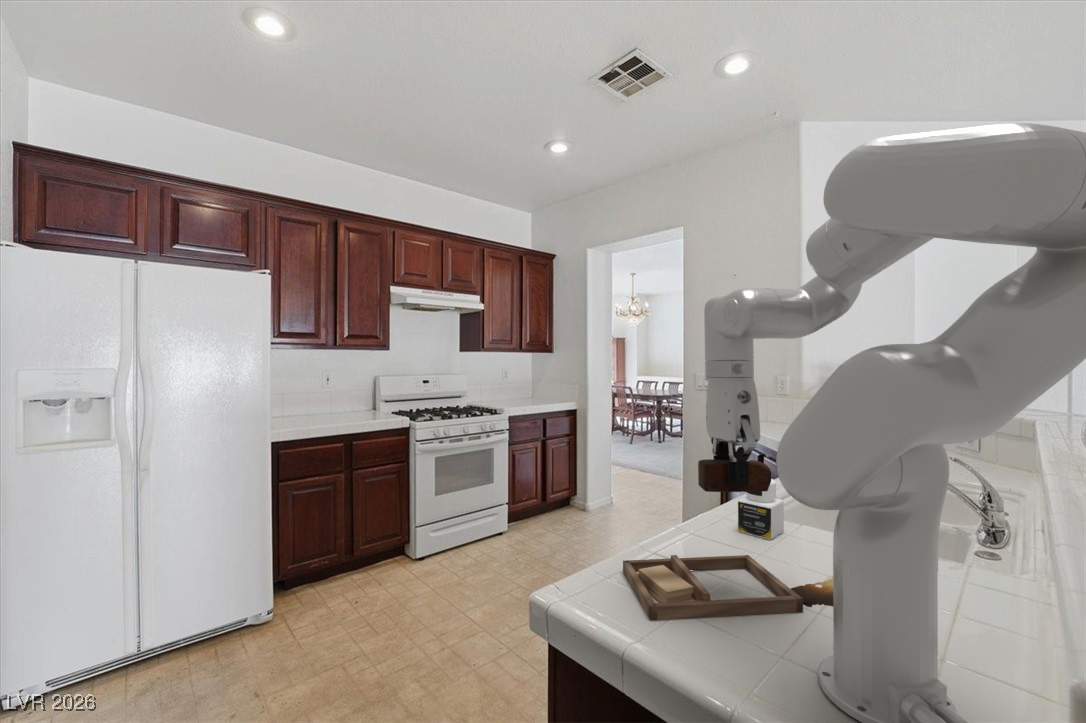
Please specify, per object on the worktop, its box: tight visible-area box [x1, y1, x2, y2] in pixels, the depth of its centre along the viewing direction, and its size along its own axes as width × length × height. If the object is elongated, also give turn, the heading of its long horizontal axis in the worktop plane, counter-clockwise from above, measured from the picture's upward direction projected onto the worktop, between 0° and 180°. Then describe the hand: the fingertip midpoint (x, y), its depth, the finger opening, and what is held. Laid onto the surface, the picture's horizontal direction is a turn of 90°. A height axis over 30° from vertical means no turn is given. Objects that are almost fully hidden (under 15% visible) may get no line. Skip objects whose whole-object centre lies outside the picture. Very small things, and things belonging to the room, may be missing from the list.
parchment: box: [789, 575, 833, 608], centre depth 79 cm, size 25×10×1 cm, turn 105°
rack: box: [622, 554, 804, 621], centre depth 78 cm, size 16×24×3 cm
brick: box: [697, 458, 772, 493], centre depth 78 cm, size 11×4×5 cm, turn 88°
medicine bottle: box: [737, 478, 785, 541], centre depth 104 cm, size 7×7×12 cm
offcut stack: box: [636, 565, 695, 603], centre depth 78 cm, size 10×5×3 cm, turn 19°
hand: (730, 481), depth 78 cm, fingers closed on brick, 4 cm apart
